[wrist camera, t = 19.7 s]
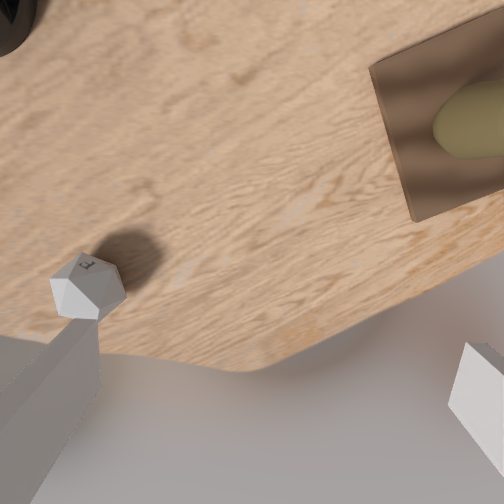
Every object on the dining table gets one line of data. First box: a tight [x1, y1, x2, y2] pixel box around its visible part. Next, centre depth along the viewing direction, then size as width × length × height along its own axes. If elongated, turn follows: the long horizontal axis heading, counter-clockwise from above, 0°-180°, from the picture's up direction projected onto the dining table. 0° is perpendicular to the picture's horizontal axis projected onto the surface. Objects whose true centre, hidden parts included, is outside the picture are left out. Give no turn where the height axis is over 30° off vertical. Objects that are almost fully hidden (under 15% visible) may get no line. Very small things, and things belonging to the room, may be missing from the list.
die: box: [49, 252, 127, 323], centre depth 45 cm, size 8×9×10 cm
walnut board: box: [369, 7, 504, 223], centre depth 42 cm, size 20×15×2 cm
